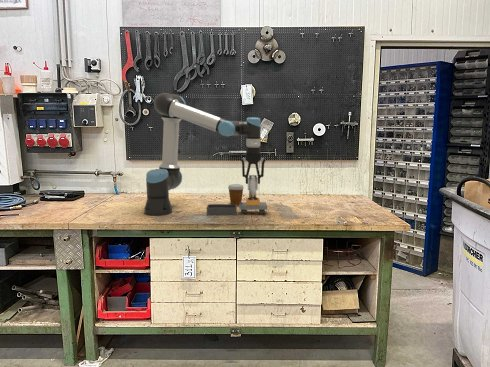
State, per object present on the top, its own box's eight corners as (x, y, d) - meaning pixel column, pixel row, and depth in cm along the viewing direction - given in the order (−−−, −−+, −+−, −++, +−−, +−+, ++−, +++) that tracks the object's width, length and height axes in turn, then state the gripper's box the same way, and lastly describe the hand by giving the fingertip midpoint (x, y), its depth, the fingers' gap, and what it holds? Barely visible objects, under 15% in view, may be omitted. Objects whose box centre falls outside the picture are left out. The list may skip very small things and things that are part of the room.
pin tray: (206, 215, 201) (206, 207, 201) (207, 211, 210) (207, 204, 210) (236, 215, 202) (236, 207, 201) (236, 211, 211) (236, 204, 210)
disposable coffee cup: (231, 207, 221) (231, 187, 219) (225, 204, 229) (225, 184, 227) (246, 206, 224) (246, 186, 222) (240, 202, 233) (240, 183, 231)
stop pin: (249, 199, 204) (249, 175, 201) (248, 198, 208) (249, 174, 205) (256, 199, 204) (256, 175, 202) (255, 198, 208) (256, 174, 206)
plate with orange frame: (239, 215, 202) (239, 200, 201) (239, 211, 211) (239, 197, 210) (267, 214, 203) (267, 200, 201) (265, 211, 212) (265, 197, 210)
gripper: (237, 147, 197) (237, 190, 201) (269, 147, 198) (268, 191, 201) (237, 146, 204) (236, 188, 208) (268, 146, 205) (267, 188, 209)
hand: (252, 189), depth 205 cm, fingers closed on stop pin, 4 cm apart
